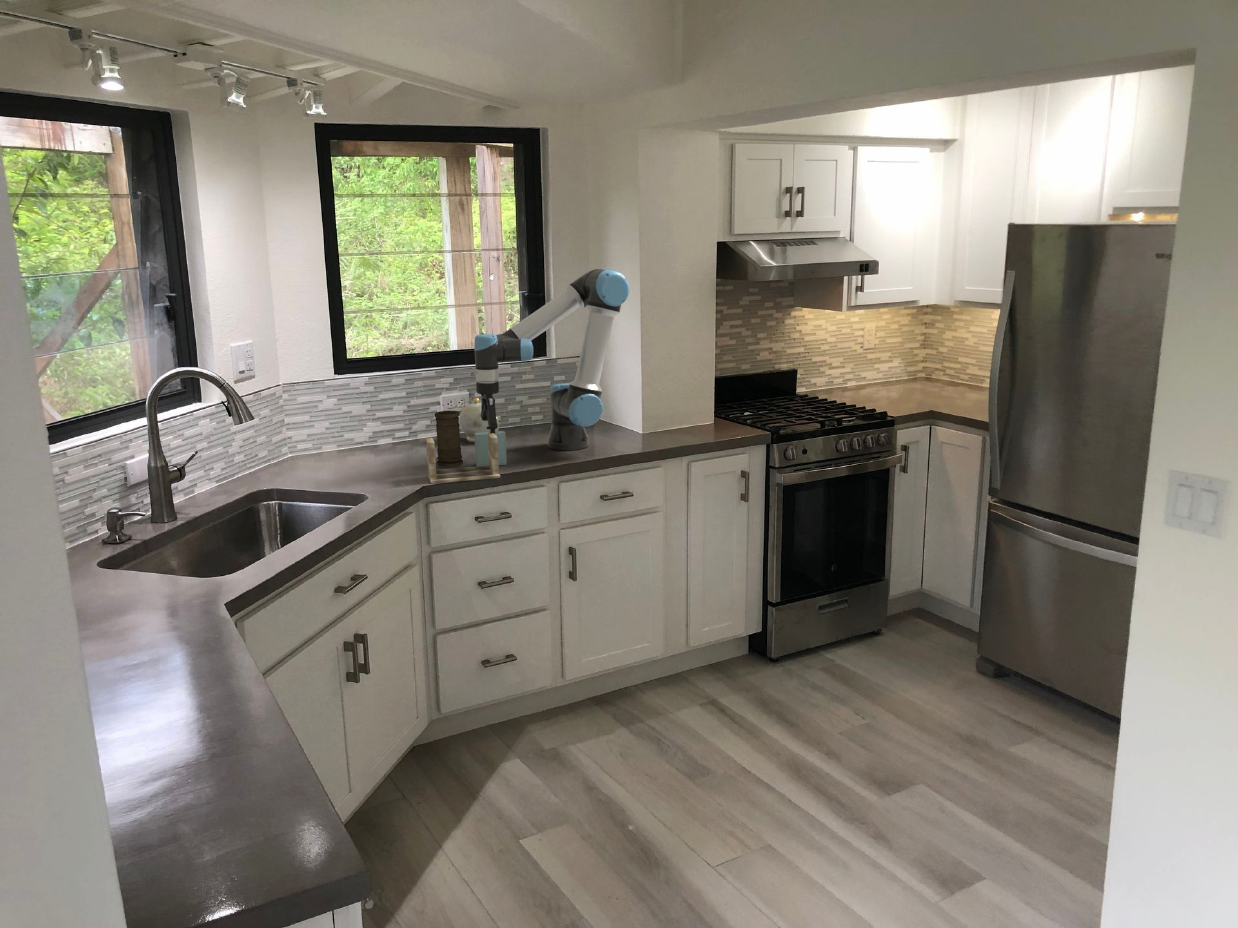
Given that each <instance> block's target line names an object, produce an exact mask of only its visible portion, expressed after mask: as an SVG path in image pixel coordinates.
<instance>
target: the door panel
mask: <svg viewBox="0 0 1238 928" xmlns="http://www.w3.org/2000/svg"><path fill="white" fill-rule="evenodd" d="M474 436H475V443H474V449H475V450H474V451H475V465H476V467H477V466H489V448H488V432H481V433H474ZM506 436H507V435H506V432H505V430H498V431H497V438H498V459H499V466H506V465H508V463H507V462H508V458H507V457H508V456H507V438H506Z"/></svg>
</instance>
